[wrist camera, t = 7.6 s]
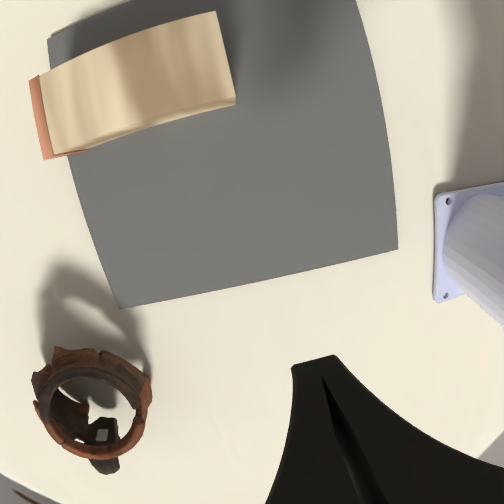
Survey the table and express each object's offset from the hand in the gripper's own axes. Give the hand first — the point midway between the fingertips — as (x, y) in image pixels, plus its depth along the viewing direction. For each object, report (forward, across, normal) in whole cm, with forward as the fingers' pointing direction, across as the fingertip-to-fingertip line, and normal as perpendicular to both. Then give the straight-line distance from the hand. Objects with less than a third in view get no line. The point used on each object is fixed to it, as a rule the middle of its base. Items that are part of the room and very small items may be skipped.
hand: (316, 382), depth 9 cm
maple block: (+8, 0, -11) cm, 14 cm away
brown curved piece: (+11, +16, +8) cm, 21 cm away
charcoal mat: (+10, +1, -8) cm, 13 cm away
